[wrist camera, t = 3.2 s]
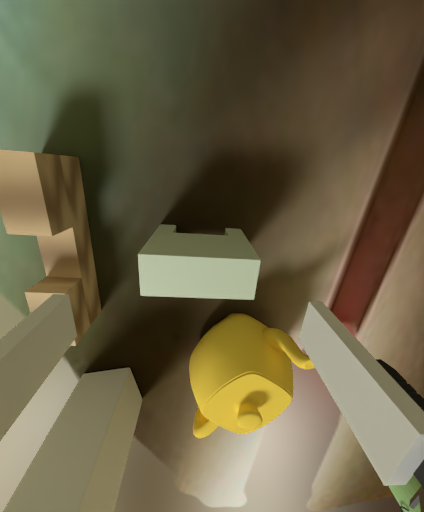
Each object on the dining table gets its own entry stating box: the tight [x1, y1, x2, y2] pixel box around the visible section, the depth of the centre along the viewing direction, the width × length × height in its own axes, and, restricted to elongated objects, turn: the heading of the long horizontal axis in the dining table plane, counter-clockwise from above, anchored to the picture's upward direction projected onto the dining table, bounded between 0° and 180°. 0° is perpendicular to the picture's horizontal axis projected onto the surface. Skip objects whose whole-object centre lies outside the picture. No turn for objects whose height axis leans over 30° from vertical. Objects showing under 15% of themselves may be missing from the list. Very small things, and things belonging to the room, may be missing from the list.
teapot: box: [189, 313, 315, 438], centre depth 25 cm, size 18×11×11 cm, turn 139°
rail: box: [0, 150, 101, 346], centre depth 21 cm, size 18×4×6 cm, turn 176°
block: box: [138, 224, 261, 300], centre depth 20 cm, size 4×9×9 cm, turn 86°
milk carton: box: [3, 368, 142, 512], centre depth 24 cm, size 7×7×19 cm
